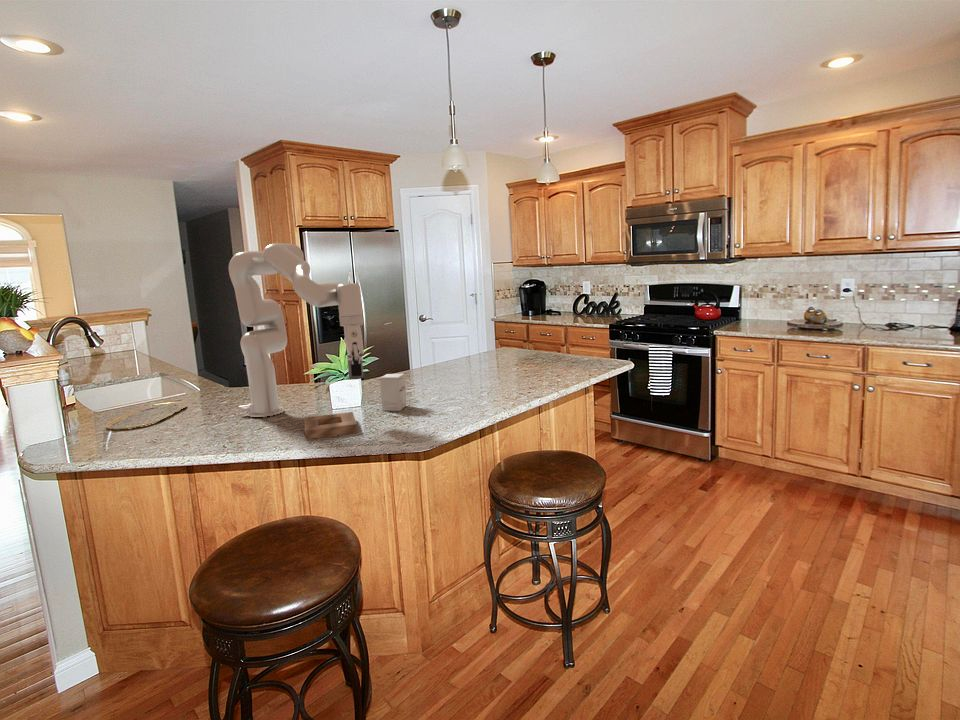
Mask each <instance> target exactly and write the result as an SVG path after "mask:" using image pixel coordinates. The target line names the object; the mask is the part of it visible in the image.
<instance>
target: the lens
mask: <svg viewBox="0 0 960 720" xmlns="http://www.w3.org/2000/svg"><path fill="white" fill-rule="evenodd" d="M352 355H354V354H352ZM359 355H360V364H361V372H362V375H361V376H352V372H351V364H352V362H351V356H350V355H349V354H347V355H346V359H347V360H346V361H347V368H348V369H347V370H348V371H347V372H348V379H349V380H360V379H363V378H364V366H363V355H362V354H360V353H359Z"/></svg>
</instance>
